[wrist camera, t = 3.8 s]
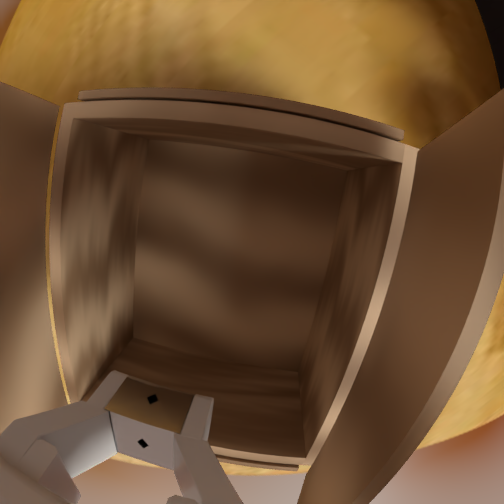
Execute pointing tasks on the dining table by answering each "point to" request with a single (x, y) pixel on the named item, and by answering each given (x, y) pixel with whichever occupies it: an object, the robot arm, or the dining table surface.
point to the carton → (225, 255)
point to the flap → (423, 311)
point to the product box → (494, 31)
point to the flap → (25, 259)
